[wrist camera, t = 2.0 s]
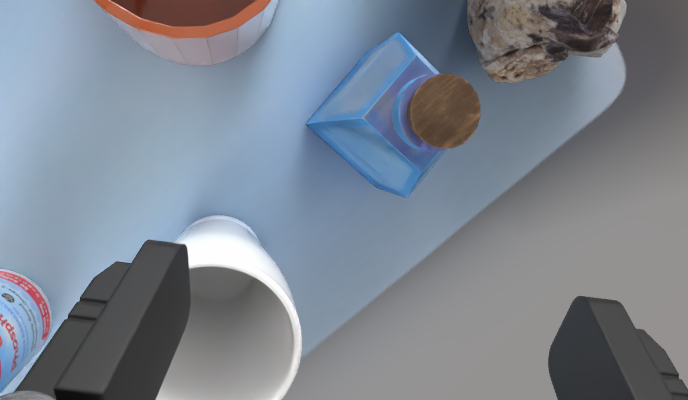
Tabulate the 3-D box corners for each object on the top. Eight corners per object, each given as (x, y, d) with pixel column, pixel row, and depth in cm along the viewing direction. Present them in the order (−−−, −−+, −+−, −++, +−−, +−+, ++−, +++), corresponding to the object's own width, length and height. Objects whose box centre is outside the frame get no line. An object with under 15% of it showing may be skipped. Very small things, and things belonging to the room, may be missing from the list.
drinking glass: (137, 250, 32) (58, 347, 17) (226, 179, 32) (221, 216, 18) (211, 329, 33) (196, 480, 19) (294, 260, 34) (342, 355, 19)
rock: (492, 141, 33) (444, 4, 27) (489, 41, 41) (450, -85, 34) (654, 105, 30) (643, -64, 23) (618, 2, 37) (601, -148, 31)
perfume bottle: (375, 187, 34) (449, 213, 23) (305, 124, 33) (345, 117, 21) (435, 116, 35) (539, 106, 23) (368, 50, 33) (442, 4, 21)
